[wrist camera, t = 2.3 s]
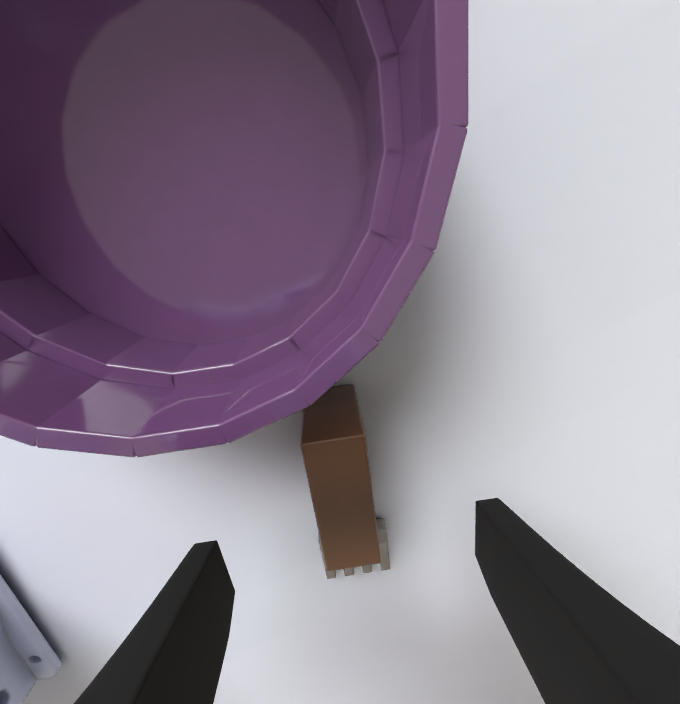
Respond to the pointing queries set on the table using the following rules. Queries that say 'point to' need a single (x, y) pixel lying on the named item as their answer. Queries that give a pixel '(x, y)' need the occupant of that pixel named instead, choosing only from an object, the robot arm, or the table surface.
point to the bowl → (212, 206)
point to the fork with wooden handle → (342, 484)
